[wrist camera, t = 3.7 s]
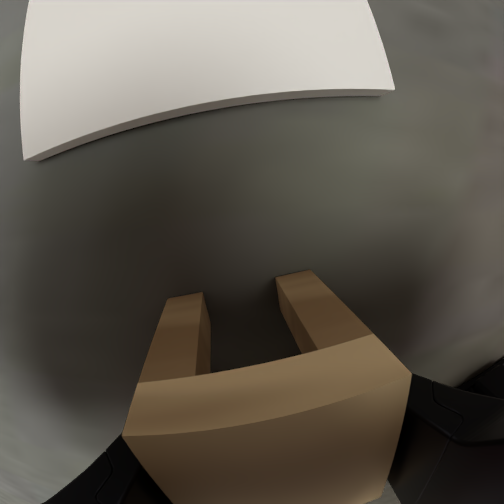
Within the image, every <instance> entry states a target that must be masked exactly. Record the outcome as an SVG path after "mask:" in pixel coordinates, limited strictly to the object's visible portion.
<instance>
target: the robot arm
mask: <svg viewBox="0 0 504 504" xmlns="http://www.w3.org/2000/svg"><path fill="white" fill-rule="evenodd" d="M122 433H123V432H122ZM122 433H121V434H120V435H119V436H118V438H117V439H116V440H115V441H114V442H113V443H112V444H111V445H110V446H109V447H108V448H107V449H106V452H103V453H102V454H101V455H100V456H99V457H98V458H97V459H96V460H95V461H94V462H93V463H92V464H91V465H90V466H89V467H88V468H87V469H86V470H85V471H84V472H82V473H81V474H80V475H79V476H78V477H77V478H75V479H74V480H73V481H72V482H70V483H69V484H68V485H67V486H65V487H64V488H63V489H62V490H60V491H59V492H58V493H57V494H55V495H54V496H53V497H51V498H50V499H49V500H47V501H46V502H44V503H42V504H173V503H172V502H171V500H170V499H169V498H168V497H167V496H166V495H165V493H164V492H163V491H162V490H161V489H160V487H159V486H158V485H157V484H156V483H155V481H154V480H153V479H152V478H151V476H150V475H149V474H148V472H147V471H146V470H145V468H144V467H143V466H142V464H141V463H140V462H139V460H138V459H137V458H136V456H135V455H134V453H133V452H132V451H131V449H130V448H129V446H128V445H127V443H126V442H125V440H124V439H123V437H122ZM387 479H388V481H389V483H390V485H391V486H392V488H393V490H394V492H395V493H396V495H397V497H398V499H399V500H400V502H401V504H504V359H502V360H501V361H499V362H498V363H497V364H495V365H494V366H492V367H491V368H489V369H488V370H486V371H485V372H483V373H482V374H480V375H478V376H477V377H475V378H474V379H472V380H470V381H469V382H467V383H465V384H464V385H462V386H460V387H459V388H457V389H456V388H453V387H450V386H447V385H444V384H441V383H438V382H435V381H433V382H432V380H429V379H427V378H424V377H421V376H419V375H416V374H413V373H412V377H411V383H410V389H409V395H408V400H407V405H406V410H405V415H404V419H403V423H402V428H401V432H400V436H399V440H398V444H397V447H396V451H395V455H394V458H393V462H392V465H391V468H390V471H389V475H388V478H387Z"/></svg>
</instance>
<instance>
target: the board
mask: <svg viewBox="0 0 504 504" xmlns="http://www.w3.org/2000/svg"><path fill="white" fill-rule="evenodd" d="M394 90H395V87H394V83H393V79H392V75H391V71H390V68H389V64H388V61H387V57H386V54H385V50H384V47H383V44H382V41H381V38H380V35H379V32H378V29H377V26H376V23H375V20H374V17H373V15H372V12H371V9H370V7H369V4H368V2H367V0H29V4H28V10H27V16H26V22H25V29H24V37H23V46H22V57H21V74H20V120H21V137H22V149H23V158H24V160H25V161H41V160H43V159H46V158H48V157H50V156H53V155H55V154H58V153H60V152H63V151H65V150H68V149H71V148H73V147H76V146H79V145H82V144H84V143H87V142H90V141H93V140H96V139H99V138H102V137H105V136H108V135H112V134H115V133H118V132H121V131H125V130H128V129H132V128H135V127H139V126H142V125H146V124H150V123H154V122H158V121H162V120H166V119H170V118H174V117H179V116H183V115H188V114H193V113H198V112H203V111H208V110H214V109H219V108H225V107H231V106H238V105H245V104H252V103H260V102H268V101H277V100H287V99H299V98H314V97H335V96H382V95H384V94H387V93H389V92H391V91H394Z"/></svg>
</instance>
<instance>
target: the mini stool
mask: <svg viewBox="0 0 504 504" xmlns="http://www.w3.org/2000/svg"><path fill="white" fill-rule="evenodd" d="M275 280H276V286H277V292H278V299H279V305H280V310H281V312H282V314H283V316H284V318H285V321H286V323H287V325H288V327H289V329H290V331H291V333H292V335H293V337H294V339H295V341H296V343H297V345H298V347H299V349H300V351H301V353H302V354H301V355H297V356H293V357H289V358H285V359H281V360H276V361H272V362H267V363H263V364H258V365H253V366H248V367H243V368H238V369H233V370H227V371H222V372H216V373H210V357H211V322H210V319H209V315H208V311H207V307H206V303H205V299H204V295H203V292H200V293H194V294H189V295H184V296H179V297H173V298H168V299H167V301H166V304H165V307H164V309H163V312H162V315H161V318H160V320H159V323H158V326H157V329H156V331H155V334H154V337H153V340H152V343H151V345H150V348H149V351H148V354H147V357H146V360H145V363H144V366H143V369H142V372H141V375H140V378H139V381H138V384H137V387H136V390H135V393H134V396H133V400H132V403H131V406H130V409H129V413H128V416H127V419H126V423H125V426H124V429H123V433H122V437H123V439H124V440H125V442H126V443H127V445H128V446H129V448H130V449H131V451H132V452H133V453H134V455H135V456H136V458H137V459H138V460H139V462H140V463H141V464H142V466H143V467H144V468H145V470H146V471H147V472H148V474H149V475H150V476H151V478H152V479H153V480H154V481H155V483H156V484H157V485H158V486H159V487H160V489H161V490H162V491H163V492H164V493H165V495H166V496H167V497H168V498H169V499H170V500H171V502H172V503H173V504H364V503H367V502H370V501H372V500H375V499H377V498H380V497H381V495H382V492H383V489H384V487H385V484H386V481H387V478H388V475H389V471H390V468H391V465H392V462H393V458H394V455H395V451H396V447H397V444H398V440H399V436H400V432H401V428H402V423H403V419H404V415H405V410H406V405H407V400H408V395H409V389H410V383H411V377H412V373H411V372H410V371H409V370H408V369H407V368H406V367H405V366H404V365H403V364H402V363H401V362H400V361H399V360H398V358H397V357H396V356H395V355H394V354H393V353H392V352H391V351H390V350H389V349H388V348H387V347H386V346H385V345H384V344H383V343H382V342H381V341H380V340H379V339H378V338H377V337H376V336H375V335H374V334H373V332H372V331H371V330H370V329H369V328H368V327H367V326H366V325H365V324H364V323H363V322H362V321H361V320H360V319H359V318H358V317H357V316H356V315H355V314H354V313H353V312H352V311H351V310H350V309H349V308H348V307H347V306H346V305H345V304H344V303H343V302H342V301H341V300H340V299H339V298H338V297H337V296H336V295H335V294H334V293H333V292H332V291H331V290H330V289H329V288H328V287H327V286H326V285H325V284H324V283H323V282H322V281H321V280H320V279H319V278H318V277H317V276H316V275H315V274H314V273H313V272H312V271H311V270H306V271H302V272H297V273H292V274H288V275H283V276H278V277H275Z"/></svg>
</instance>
